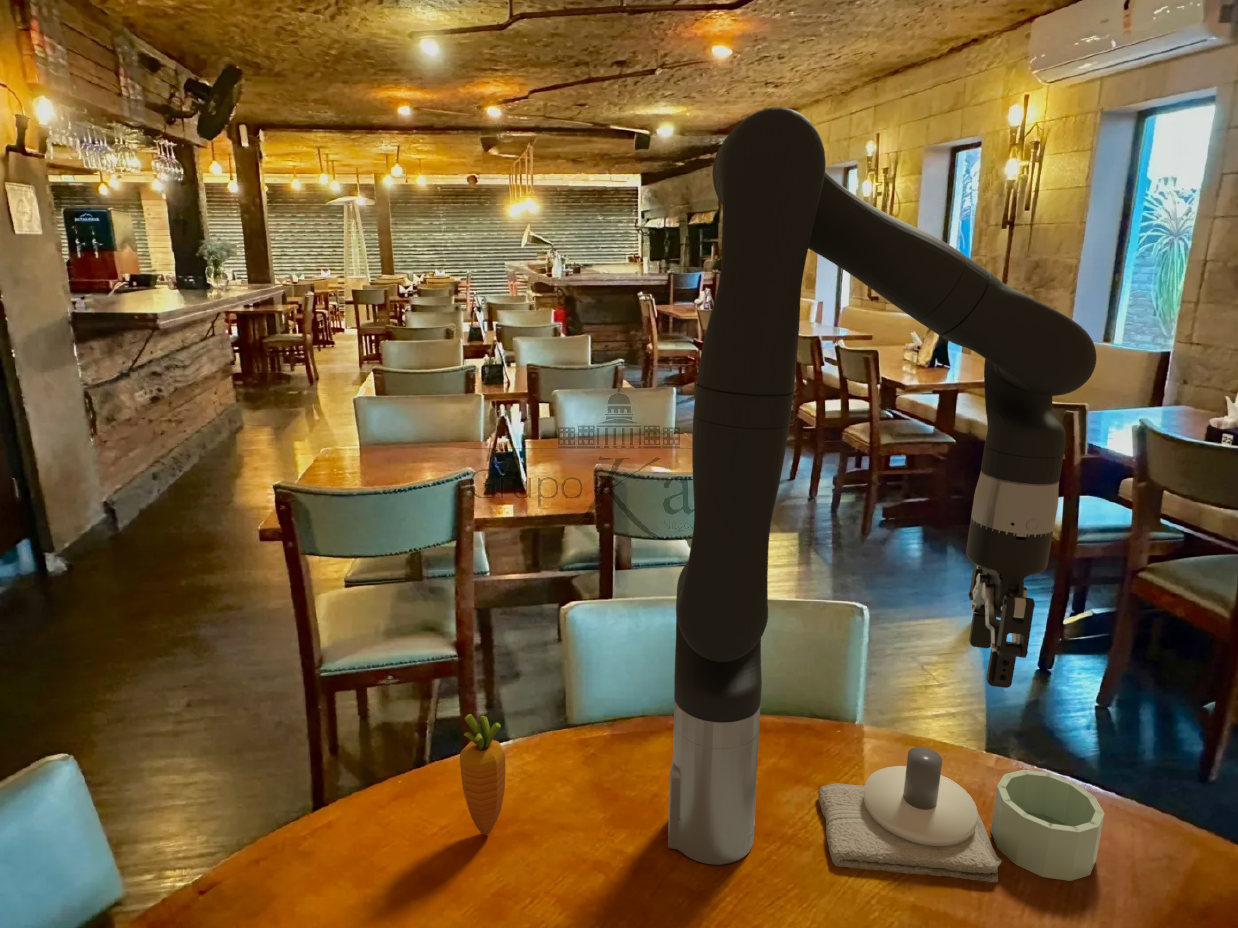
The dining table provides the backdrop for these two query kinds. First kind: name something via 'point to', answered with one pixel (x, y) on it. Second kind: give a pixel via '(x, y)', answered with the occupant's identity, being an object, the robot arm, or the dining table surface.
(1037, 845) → the cup
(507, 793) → the dining table surface
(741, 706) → the robot arm
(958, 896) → the dining table surface
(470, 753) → the carrot
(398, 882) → the dining table surface
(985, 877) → the washcloth
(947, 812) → the lid
